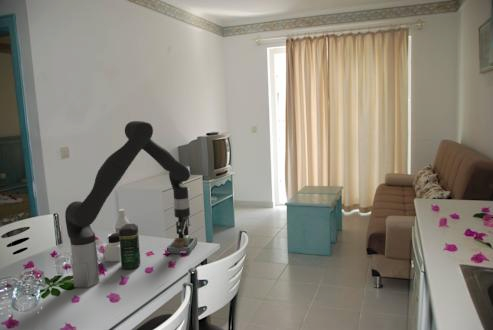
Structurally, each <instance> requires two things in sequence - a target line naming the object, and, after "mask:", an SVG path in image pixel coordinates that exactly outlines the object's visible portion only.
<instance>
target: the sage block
mask: <svg viewBox="0 0 493 330" xmlns="http://www.w3.org/2000/svg"><path fill="white" fill-rule="evenodd" d="M183 235H184V234H183ZM184 238H185V242H186V247H188V246H189V245H190V238H191V234H188V235H184Z"/></svg>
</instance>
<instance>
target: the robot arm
mask: <svg viewBox="0 0 493 330" xmlns="http://www.w3.org/2000/svg"><path fill="white" fill-rule="evenodd" d="M124 134H125V137H126V138H127V139H128V140H127V141H126V142H125V144H123V145H122V146H120V148H119V149H117V150H116V151H114V152H113V153H112V154H111V155H109V156H108V157H107V158H106V160H105V161H104V162H103V164H102V165H101V166H100V167H99V168H98V170H97V172H96V175H95V179H94V184H93V187H92V189H91V190H90V193H88V195H87V196H86V198H84V200H83V201H79V200H78V201H73V202H70V203H69V204H68V205H67V207H66V209H65V213H64V215H65V216H64V217H65V218H64V219H65V225H66V231H67V236H68V238H69V241H70V248H71V260H72V264H71V269H72V279H73V287H74V288H90V287H92V286H94V285H96V284H98V283H99V282H100V271H99V264H98V263H99V262H98V261H99V260H98V251H97V242H96V234H95V232H94V231H93V229H92V228H91V225H92V224H93V222H95V220H96V219H97V217H98V216H99V213H100V212H101V210H102V208H103V206H104V204H105V202H106V201H107V199H108V198H109V196H110V194H111V193H112V192H113V190H114V189H115V187H116V186H117V185H118V183H119V182H120V180H121V179H122V178H123V176H124V174H125V173H126V172H127V170H128V168H129V167H130V166H131V165H132V163H133V162H134V160H135V159H136V158H137V156H138V155H139V153H140V152H141V151H142V150H143V151H144V152H145V153H147V154H148V155H149V156H150V157H151V158H152V159H153V160H154V161H156V162H157V163H158V165H159V166H161V167H162V168H163V169H164V170H165V171H166V172H169V173H168V178H169V181H170V185H171V187H172V190H173V213H174V217H175V218H178V220H177V221H175V225H176V228H175V229H176V234H177V235H178V238H184V235H189V227H190V218H189V217H190V216H191V209H190V199H189V189H188V186H186V185H185V184H183V183H184V182H187V181H189V179H190V177H191V173H190V170H189V168H188V167H187V166H185V165H184V164H183V163H181V162H180V161H178V160H177V159H176V158H175V157H174V156H173V155H172V154H171V152H169V151H168V150H167V149H166V148H164V147H162V146H161V145H160V144H158V143H156V142H155V141H154V140H153V139H152V137H153V134H154V127H153V126H152V124H151V123H149V122H147V121H145V120H133V121H130V122H128V123H127V124H125V127H124Z"/></svg>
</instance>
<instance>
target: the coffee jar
mask: <svg viewBox="0 0 493 330" xmlns="http://www.w3.org/2000/svg"><path fill="white" fill-rule="evenodd" d="M139 236H140V235H139V226H138V225H137V224H135V223H130V224H125V225H124V226H122V227H121V228H120V230H119V239H120V251H121V261H120V262H121V263H120V264H121V268H122V269H125V270H132V269H137V268H138V267H140V265H141V254H140V253H141V252H140V239H139V238H140V237H139Z"/></svg>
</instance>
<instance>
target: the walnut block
mask: <svg viewBox="0 0 493 330" xmlns="http://www.w3.org/2000/svg"><path fill="white" fill-rule="evenodd" d="M175 238H176V239H175ZM175 238H174V240H175V241H174V240H173V241H174V244H173V245H174V247H186V242H185V238H179V237H175Z"/></svg>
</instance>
